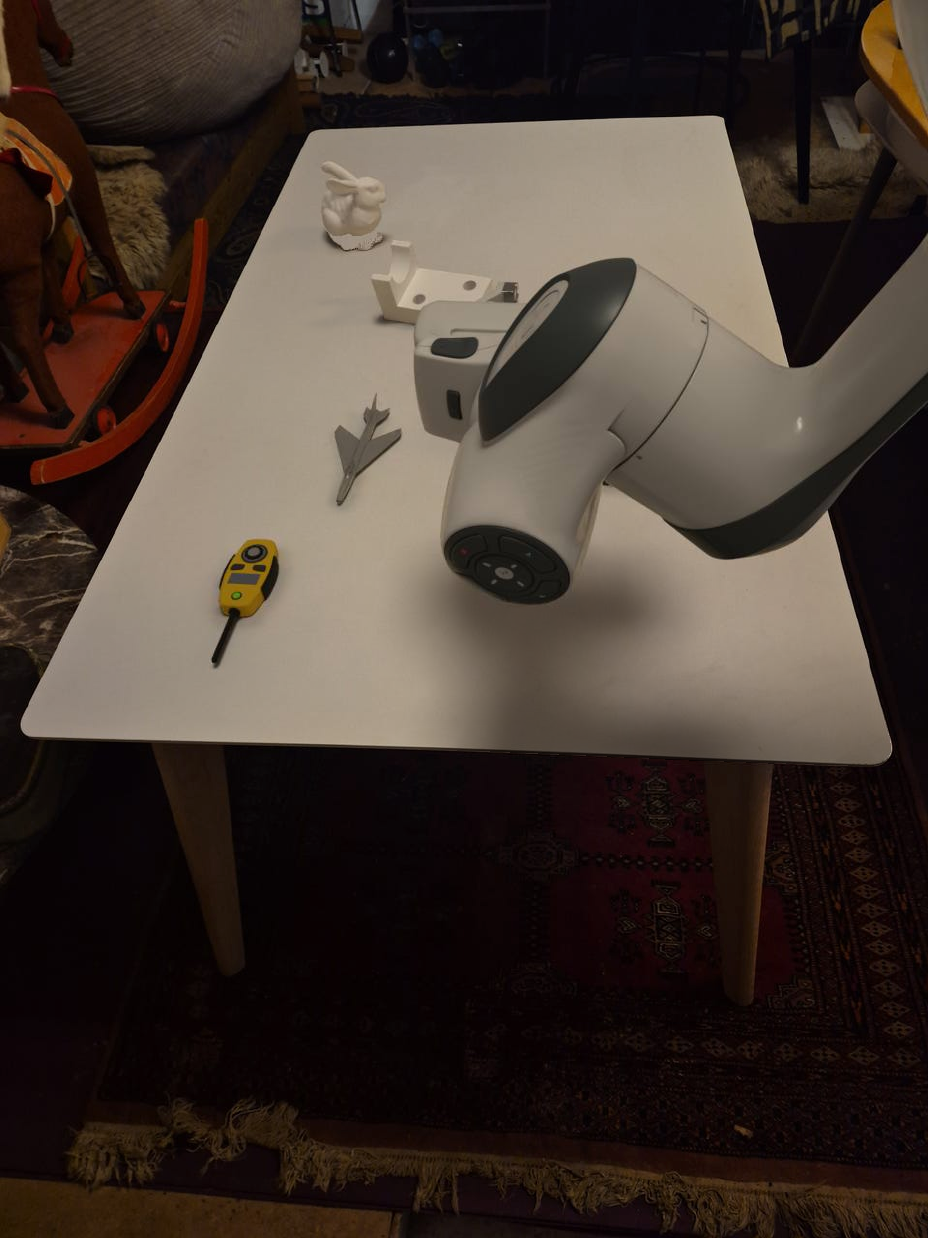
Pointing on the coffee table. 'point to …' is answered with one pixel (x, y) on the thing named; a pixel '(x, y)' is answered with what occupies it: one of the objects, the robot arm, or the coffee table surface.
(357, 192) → the rabbit
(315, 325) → the coffee table surface
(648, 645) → the coffee table surface
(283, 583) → the coffee table surface
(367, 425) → the toy airplane
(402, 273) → the bracket
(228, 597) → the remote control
